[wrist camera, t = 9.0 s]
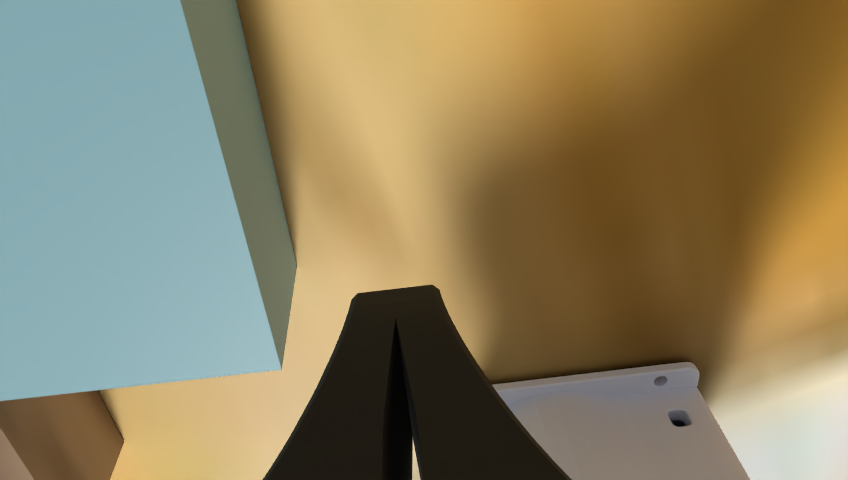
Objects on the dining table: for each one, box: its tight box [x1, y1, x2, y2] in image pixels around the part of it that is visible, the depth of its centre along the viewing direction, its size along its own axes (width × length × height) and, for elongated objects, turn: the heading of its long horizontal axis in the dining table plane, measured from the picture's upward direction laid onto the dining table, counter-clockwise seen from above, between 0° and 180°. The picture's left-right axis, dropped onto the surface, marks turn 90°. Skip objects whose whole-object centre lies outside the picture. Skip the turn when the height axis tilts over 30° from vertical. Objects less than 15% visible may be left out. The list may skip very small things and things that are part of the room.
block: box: [0, 0, 297, 401], centre depth 17 cm, size 8×10×5 cm
